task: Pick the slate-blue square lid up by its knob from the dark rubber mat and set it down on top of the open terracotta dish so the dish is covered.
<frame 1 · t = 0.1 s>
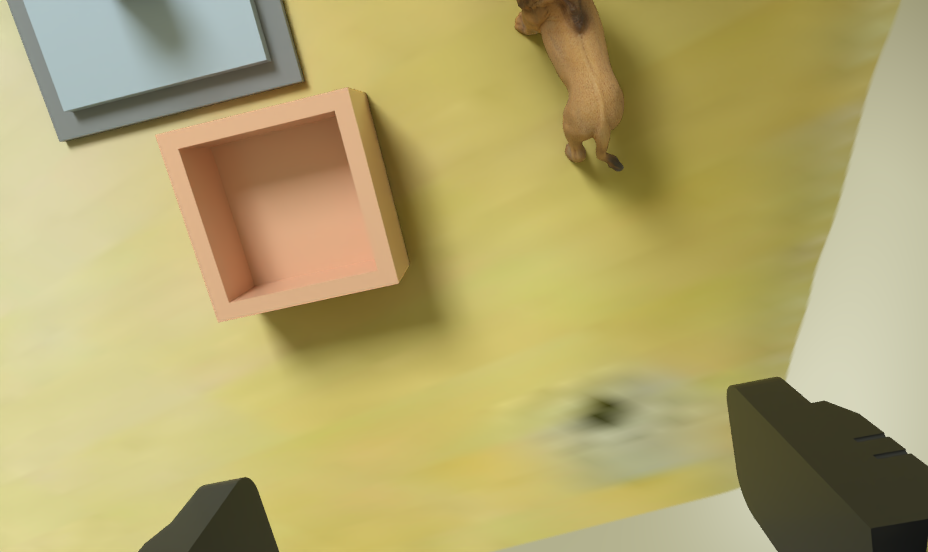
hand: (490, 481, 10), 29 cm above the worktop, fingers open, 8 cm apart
dish: (305, 200, 38), on the worktop
lion figurine: (553, 58, 36), on the worktop
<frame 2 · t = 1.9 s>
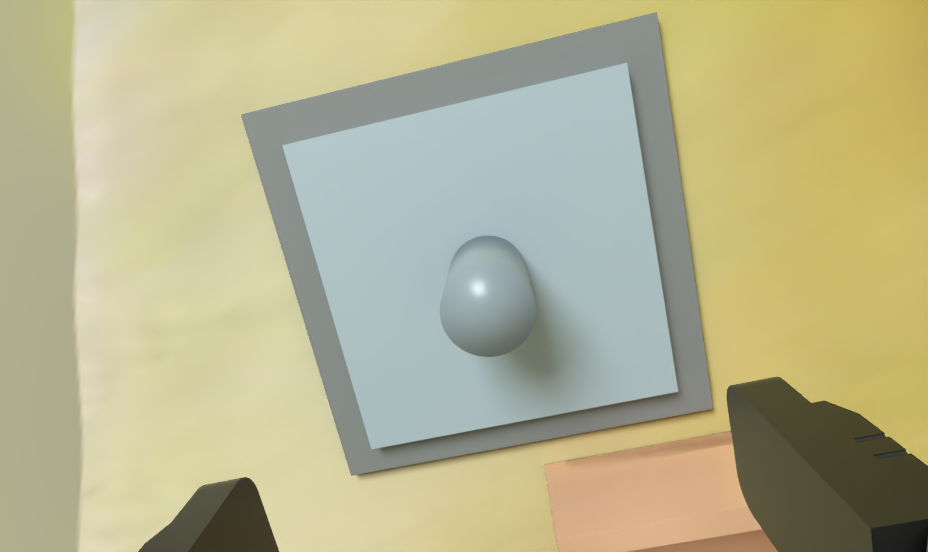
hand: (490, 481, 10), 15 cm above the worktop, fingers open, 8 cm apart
dish: (684, 547, 28), on the worktop
mat: (487, 265, 25), on the worktop
lid: (487, 268, 24), resting on mat
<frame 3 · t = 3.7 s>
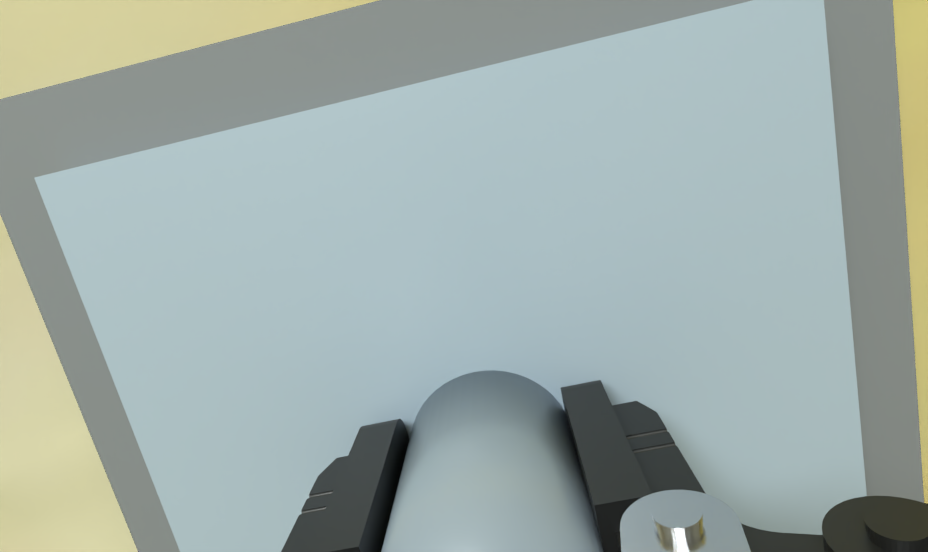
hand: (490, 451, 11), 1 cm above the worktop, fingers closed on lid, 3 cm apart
mat: (490, 414, 12), on the worktop
lid: (491, 425, 12), resting on mat, touching gripper
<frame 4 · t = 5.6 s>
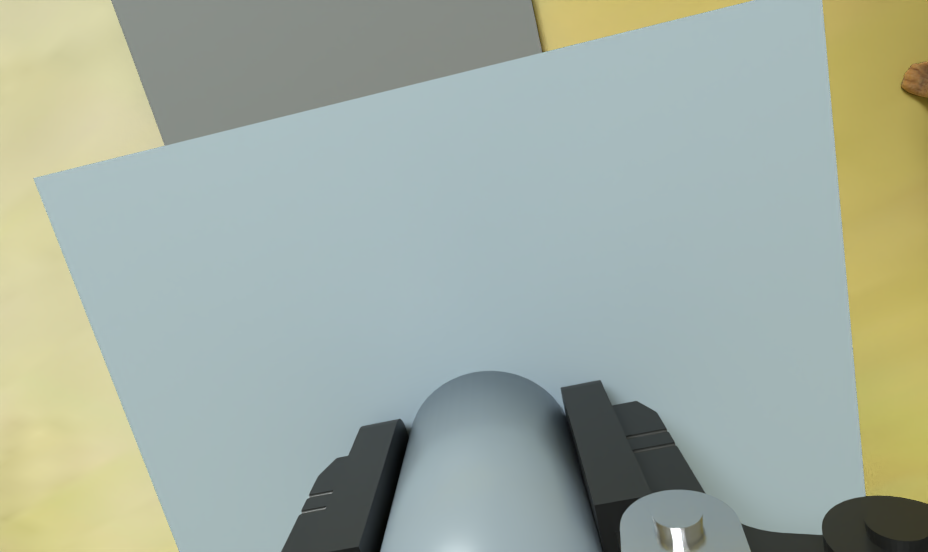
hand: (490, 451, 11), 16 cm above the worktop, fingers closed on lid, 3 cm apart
lid: (490, 426, 12), point 15 cm above the worktop, touching gripper
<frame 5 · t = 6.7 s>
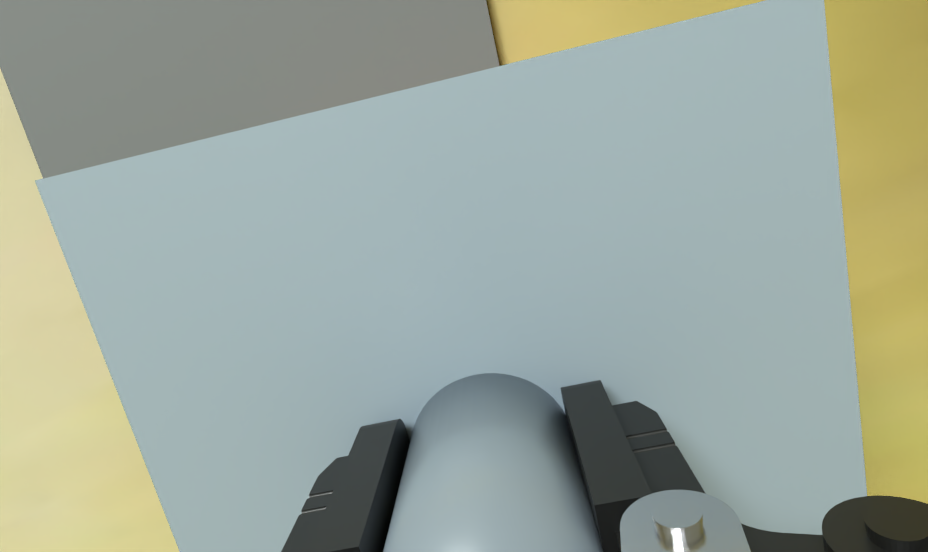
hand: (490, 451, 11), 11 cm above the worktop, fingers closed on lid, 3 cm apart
lid: (491, 428, 12), point 10 cm above the worktop, touching gripper
when the fingers open (7 cm above the worktop, at t = 7.6 s): lid drops 1 cm, resting on dish.
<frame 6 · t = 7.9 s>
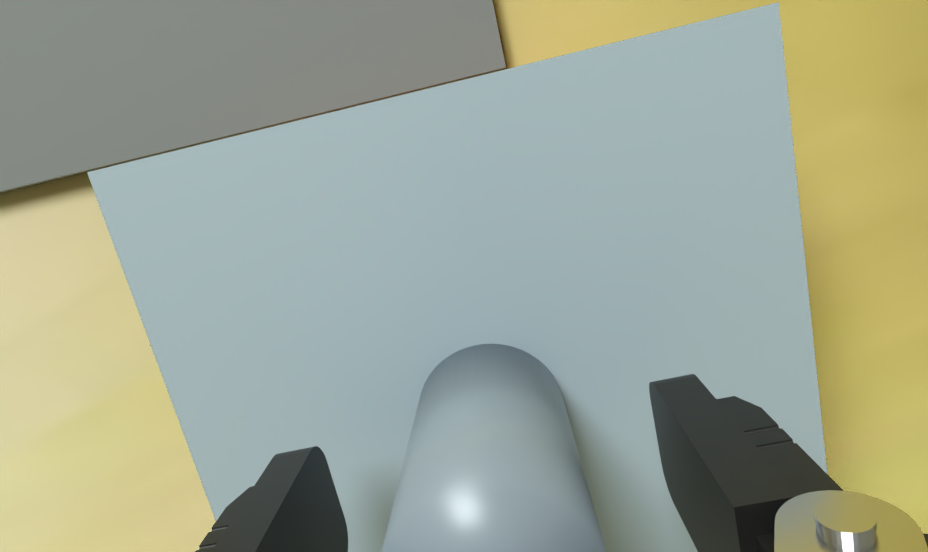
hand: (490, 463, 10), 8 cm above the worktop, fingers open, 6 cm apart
lid: (490, 395, 13), point 5 cm above the worktop, touching dish
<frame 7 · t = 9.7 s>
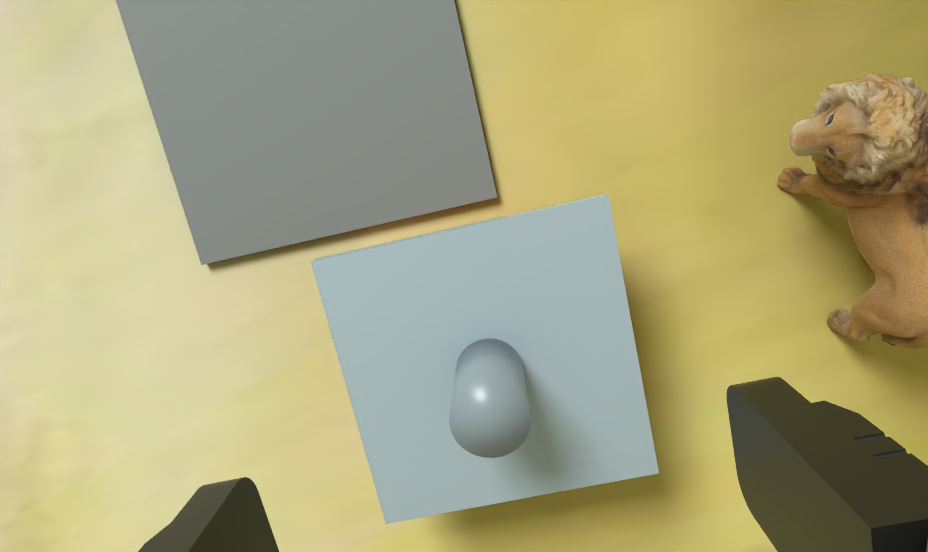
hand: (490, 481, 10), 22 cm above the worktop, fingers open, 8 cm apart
mat: (306, 75, 30), on the worktop
lid: (489, 364, 28), point 5 cm above the worktop, touching dish
lion figurine: (818, 216, 31), on the worktop
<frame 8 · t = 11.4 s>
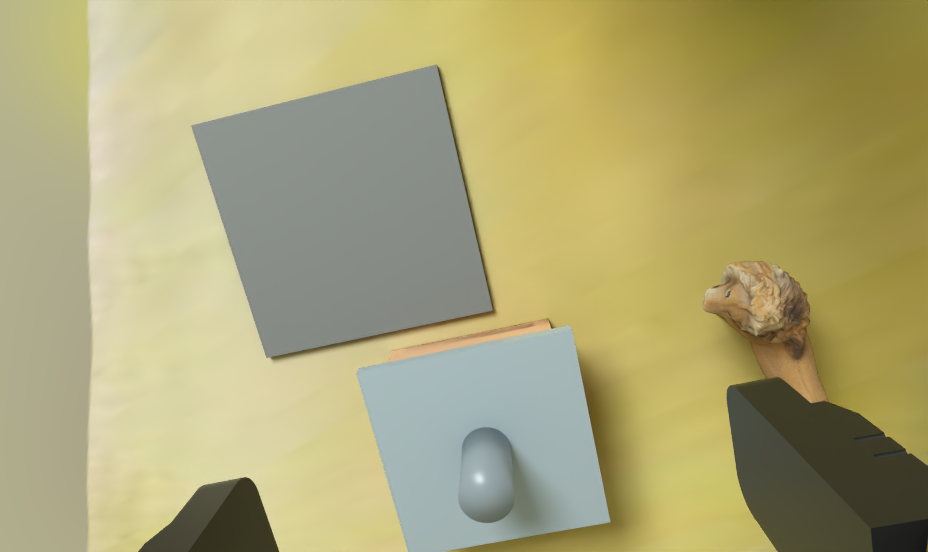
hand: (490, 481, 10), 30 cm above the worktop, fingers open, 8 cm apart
dish: (486, 407, 42), on the worktop
mat: (347, 219, 40), on the worktop
lid: (486, 442, 37), point 5 cm above the worktop, touching dish
lion figurine: (738, 329, 41), on the worktop
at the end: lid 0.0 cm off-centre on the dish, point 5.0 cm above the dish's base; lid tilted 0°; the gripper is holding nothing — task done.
